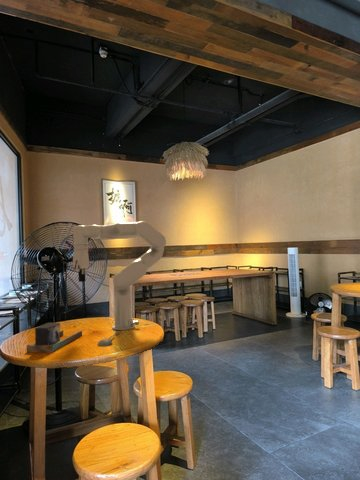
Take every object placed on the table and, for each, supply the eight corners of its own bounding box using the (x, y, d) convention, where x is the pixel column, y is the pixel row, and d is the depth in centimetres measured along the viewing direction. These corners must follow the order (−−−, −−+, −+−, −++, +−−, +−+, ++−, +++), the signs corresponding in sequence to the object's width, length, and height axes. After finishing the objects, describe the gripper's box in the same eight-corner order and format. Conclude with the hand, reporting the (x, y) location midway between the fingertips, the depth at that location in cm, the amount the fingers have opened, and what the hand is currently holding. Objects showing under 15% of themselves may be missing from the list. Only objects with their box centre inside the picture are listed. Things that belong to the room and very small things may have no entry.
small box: (48, 351, 141) (47, 327, 141) (34, 351, 142) (33, 327, 142) (61, 344, 151) (60, 322, 151) (48, 344, 152) (47, 322, 152)
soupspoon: (94, 349, 146) (108, 350, 145) (94, 341, 146) (108, 342, 144) (112, 334, 167) (124, 334, 166) (112, 327, 167) (124, 328, 166)
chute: (82, 335, 166) (81, 329, 166) (50, 352, 139) (50, 345, 139) (61, 335, 168) (61, 329, 168) (26, 352, 141) (26, 345, 141)
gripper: (81, 248, 184) (82, 280, 184) (67, 248, 170) (68, 283, 169) (93, 247, 183) (94, 279, 182) (80, 247, 168) (81, 282, 168)
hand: (82, 281), depth 176 cm, fingers closed
